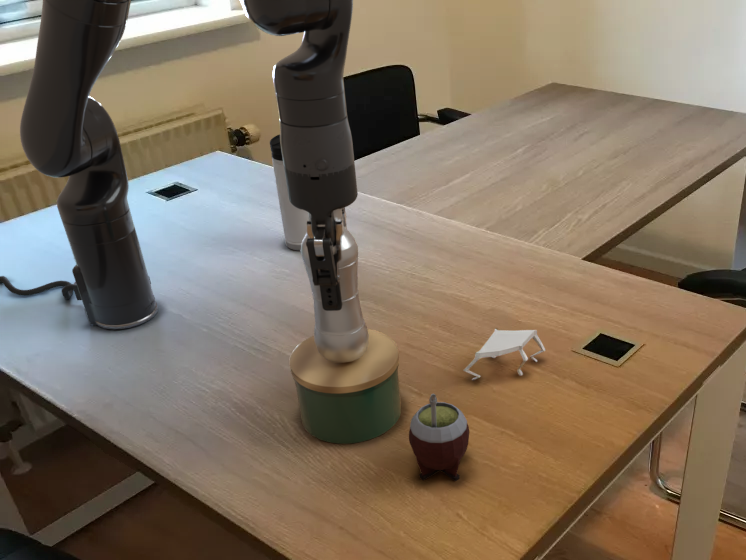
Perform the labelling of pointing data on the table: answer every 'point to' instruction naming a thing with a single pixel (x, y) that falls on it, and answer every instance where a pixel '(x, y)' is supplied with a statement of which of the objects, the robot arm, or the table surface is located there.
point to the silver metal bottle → (346, 326)
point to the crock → (348, 391)
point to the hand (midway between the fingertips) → (336, 294)
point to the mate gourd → (438, 438)
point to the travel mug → (287, 202)
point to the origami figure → (506, 346)
